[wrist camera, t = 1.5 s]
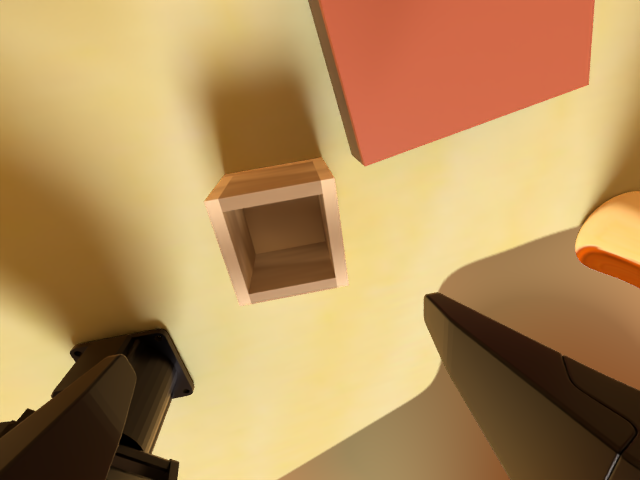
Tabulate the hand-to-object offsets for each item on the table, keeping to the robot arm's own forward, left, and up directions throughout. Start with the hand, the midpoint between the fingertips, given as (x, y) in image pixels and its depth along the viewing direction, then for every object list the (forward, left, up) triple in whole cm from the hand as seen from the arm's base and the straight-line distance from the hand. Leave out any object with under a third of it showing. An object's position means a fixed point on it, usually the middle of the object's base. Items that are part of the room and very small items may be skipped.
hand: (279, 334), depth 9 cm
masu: (0, 0, -11) cm, 11 cm away
